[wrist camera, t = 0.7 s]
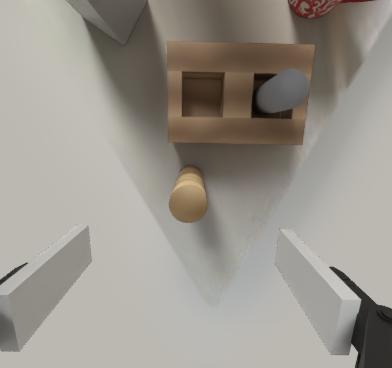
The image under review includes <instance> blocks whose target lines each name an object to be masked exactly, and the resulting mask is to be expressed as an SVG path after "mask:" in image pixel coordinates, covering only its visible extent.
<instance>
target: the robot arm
mask: <svg viewBox="0 0 392 368" xmlns="http://www.w3.org/2000/svg"><path fill="white" fill-rule="evenodd" d="M91 261H92V259H91V248H90V238H89V227H88V225H76V226H75V227H74V228H73V229H71V230H70V231H69V232H67V233H66V234H65V235H64V236H62V237H61V238H60V239H59V240H57V241H56V242H55V243H53V244H52V245H51V246H50V247H48V248H47V249H46V250H44V251H43V252H42V253H41V254H39V255H38V256H37V257H36V258H34V259H33V260H32V261H30V262H29V263H25V264H23V265H21V266H19V267H17V268H15V269H14V270H12V271H11V272H10V273H8V274H7V275H6V276H5V277H3V278H2V279H1V280H0V349H1V351H15V352H17V351H20V350H21V349H22V348H23V346H24V345H25V344H26V343H27V341H28V340H29V339H30V338H31V336H32V335H33V334H34V333H35V331H36V330H37V329H38V328H39V326H40V325H41V324H42V323H43V321H44V320H45V319H46V318H47V316H48V315H49V314H50V313H51V311H52V310H53V309H54V308H55V306H56V305H57V304H58V303H59V301H60V300H61V299H62V298H63V296H64V295H65V294H66V293H67V291H68V290H69V289H70V288H71V286H72V285H73V284H74V283H75V282H76V280H77V279H78V278H79V277H80V275H81V274H82V273H83V271H84V270H85V269H86V268H87V267H88V265H89V264H90V263H91ZM275 265H276V266H277V268H278V270H279V271H280V273H281V274H282V276H283V278H284V279H285V281H286V283H287V284H288V286H289V287H290V289H291V291H292V292H293V294H294V296H295V297H296V299H297V300H298V302H299V304H300V305H301V307H302V309H303V310H304V312H305V313H306V315H307V317H308V318H309V320H310V322H311V323H312V325H313V326H314V328H315V330H316V331H317V333H318V335H319V336H320V338H321V340H322V341H323V343H324V345H325V346H326V348H327V349H328V351H329V353H330V354H331V355H349V352H350V347H351V343H352V345H353V346H354V347H355V348H356V350H357V351H358V356H357V361H356V365H355V368H392V309H391V308H388V307H385V306H382V305H377V304H376V303H375V302H374V301H373V300H372V299H371V298H370V297H369V296H368V295H367V294H366V293H364V292H363V291H362V290H361V289H360V288H359V287H358V286H356V284H355V283H354V282H353V281H351V280H350V279H349V277H347V276H346V275H345V274H344V273H343V272H341V271H340V270H338V269H336V268H334V267H328V266H327V265H326V264H325V263H324V262H323V261H322V260H321V259H320V258H319V257H318V256H317V255H316V254H315V253H314V252H313V251H312V250H311V249H310V248H309V247H308V246H307V245H306V244H305V243H304V242H303V241H302V240H301V239H300V238H299V237H298V236H297V235H296V234H295V233H294V232H293V231H292V230H291V229H279V235H278V243H277V252H276V261H275Z"/></svg>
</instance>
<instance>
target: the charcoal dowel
mask: <svg viewBox="0 0 392 368" xmlns="http://www.w3.org/2000/svg"><path fill="white" fill-rule="evenodd" d="M308 92H309V82H308V79H307V77H306V75H305V74H304V73H303V72H302V71H300V70H298V69H293V68H290V69H286V70H283V71H282V72H280V73H279V74H277V75H276V76H274V77H273V78H271V79H270V80H269V81H267V82H266V83H264V84H263V85H261V86H260V87H258V88H257V89H256V90H255V91H254V92H253V94H252V107H251V108H252V110H253V111H254V112H255V113H257V114H259V115H267V114H272V113H276V112H280V111H284V110H289V109H293V108H296V107H298V106H299V105H301V104H302V103H303V102H304V100H305V99H306V97H307V95H308Z"/></svg>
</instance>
